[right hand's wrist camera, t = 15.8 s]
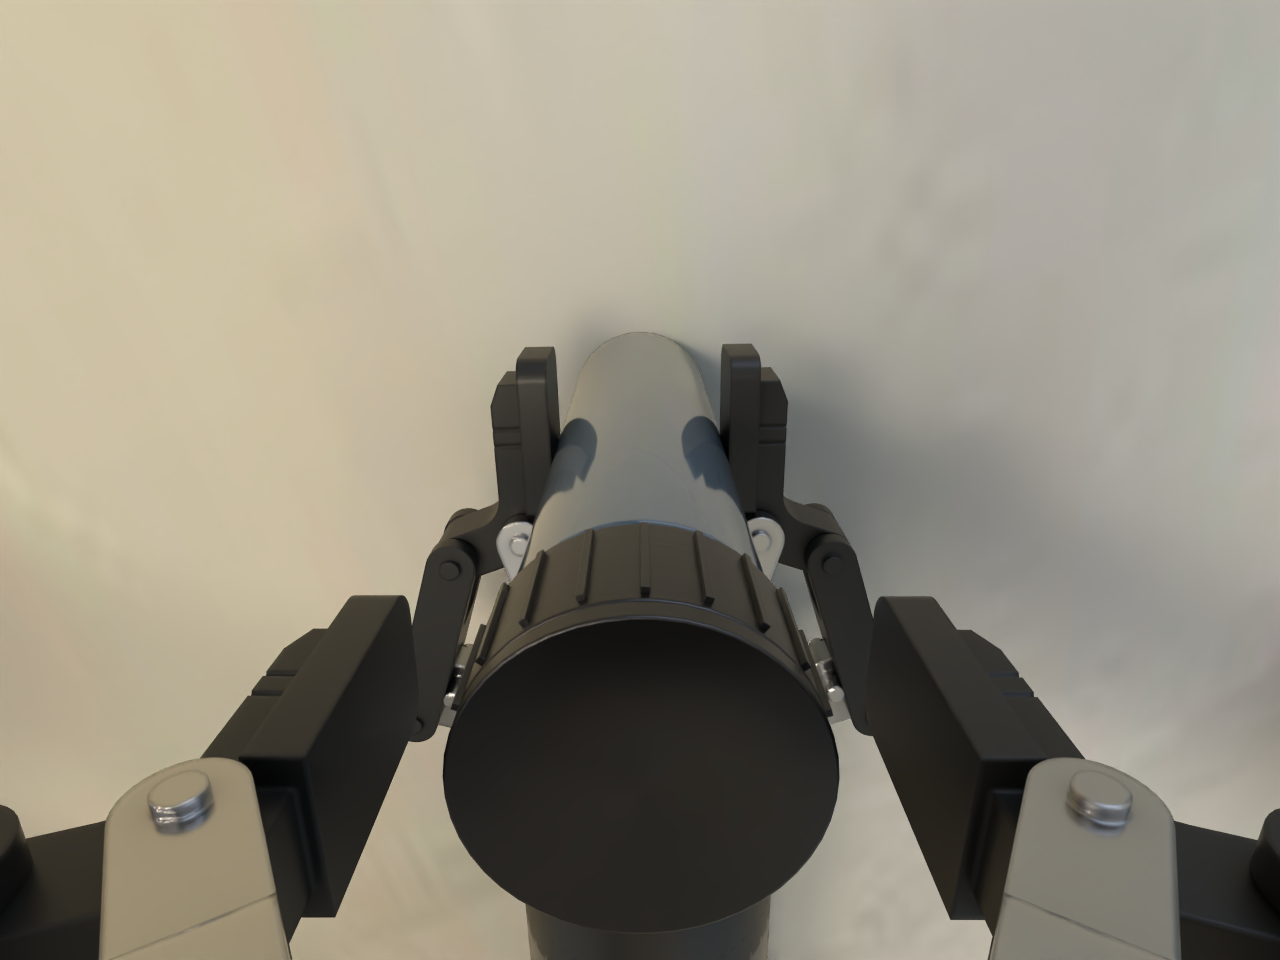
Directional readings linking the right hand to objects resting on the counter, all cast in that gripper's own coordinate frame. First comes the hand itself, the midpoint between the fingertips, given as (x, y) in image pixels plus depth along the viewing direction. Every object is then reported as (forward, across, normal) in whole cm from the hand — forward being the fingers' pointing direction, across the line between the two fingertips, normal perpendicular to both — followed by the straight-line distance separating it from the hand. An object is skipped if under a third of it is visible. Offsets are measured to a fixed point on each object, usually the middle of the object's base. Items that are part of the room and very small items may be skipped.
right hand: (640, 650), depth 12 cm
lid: (-3, 0, 0) cm, 3 cm away
